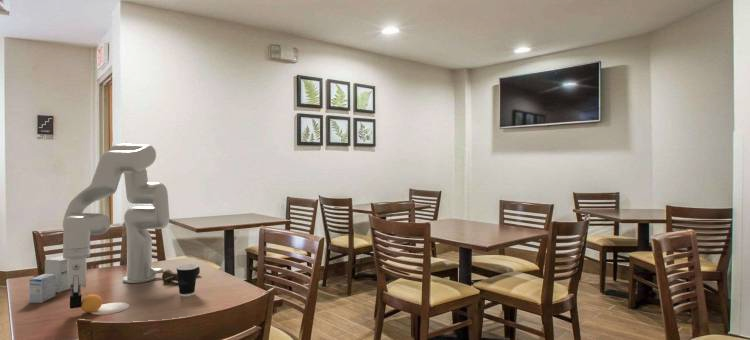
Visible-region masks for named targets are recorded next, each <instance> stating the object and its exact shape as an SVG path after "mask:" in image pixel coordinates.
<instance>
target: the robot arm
mask: <svg viewBox="0 0 750 340" xmlns="http://www.w3.org/2000/svg"><path fill="white" fill-rule="evenodd" d="M156 158H157V152H156V149H155V147H153V146H152V145H150V144H142V143H141V144H140V143H139V144H136V143H134V144H132V143H119V144H113V145H112V146H111V147H110V148H109V150H108V151H105V152H104V153H102V155H101V156H100V158H99V161H98V163H97V166H96V169H95V172H94V175H93V177H92V179H91V182H90V185H89V186H87V187H86V188H85V189H83V190H81V192H79V193H78V194H77V195H76V196H75V197H74V198H73V199H72V200H71V201H70V202H69V204H68V205H67V209H66V212H65V213H64V216H63V220H62V228H63V232H62V233H63V235H62V237H63V238H62V244H63V245H62V256H63V259H67V278H68V287H69V289H68V290H70V295H69V309H71V310H72V309H73V310H74V309H79V308H82V307H81V303H82V296H83V295H82V293H81V292H82V291H81V289H82V288H86V287H87V258H89V257H90V256H91V236H92V235H93V236H95V235H96V236H97V235H98V236H99V235H103V234H105V233H107V232H108V231H109V230H110V228H111V219H110V218H109V216H108V215H106V214H104V213H96V212H95V213H93V212H92V213H89V212H88V213H86V212H84V211H85V209H86V208H87V207H88V206H90V205H91V204H93V203H95V202H97V201H99V200H103V199H105V198H107V197H110V196H112V195H114V194H115V193H116V192H117V190H118V187H119V183H120V180H121V178H122V174H123V175H124V185H125V193H126V199H127V202H128V203H129V204H132V205H149V206H133V207H129V208H128V209H127V210H126V211H125V213H124V217H123V218H124V220H123V221H124V224H125V231H126V276H124V277H122V282H123V283H127V284H139V283H146V282H151V281H153V280H155V279H156V278H157V277H156V276H157V274H163V272H164V271H165V270H164V268H160V267H159V268H154V267H153V265H152V264H153V263H152V259H153V257H152V255H153V254H152V253H153V246H152V245H153V240H152V235H151V233H150V232H149V230H162V229H165V228H167V227H168V225H169V222H170V208H169V207H170V206H169V205H170V204H169V193H168V189H167V187H166V185H165V184H164V183H162V182H157V181H156V182H155V181H153V182H151V181H149V180H148V171H147V168H149V167H150V166H152V165H153V164H154V163H155V160H156ZM150 205H152V206H150ZM83 212H84V213H83Z"/></svg>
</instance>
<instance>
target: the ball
mask: <svg viewBox="0 0 750 340" xmlns="http://www.w3.org/2000/svg"><path fill="white" fill-rule="evenodd" d="M102 304H103V299H102V297H101V296H99V295H98V294H94V293H93V294H89V295H86V296H85V297H83V299H81V307H80V308H81V309H82V311H84V312H85V313H89V314H91V312H95V311H97V310H98V309H99V308H100V307H101V305H102Z"/></svg>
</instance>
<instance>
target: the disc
mask: <svg viewBox="0 0 750 340" xmlns="http://www.w3.org/2000/svg"><path fill="white" fill-rule="evenodd" d="M129 308H130V304H128V303H126V302H109V303H102V305H101V307H100V308H99V309H98V310H97V311H95V312H91V313H90V314H92V315H98V316H99V315H104V316H105V315H111V314H116V313H120V312H123V311H125V310H127V309H129Z"/></svg>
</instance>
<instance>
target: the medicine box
mask: <svg viewBox="0 0 750 340" xmlns="http://www.w3.org/2000/svg"><path fill="white" fill-rule="evenodd" d="M55 279H56V275H55V274H45V273H43V274H40V275H37V276H35V277H33V278H30V279H29V298H28V299H29V304H42V303H45V301H48V300H50V299H52V298H54V297H56V292H55V282H56V281H55Z"/></svg>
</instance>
